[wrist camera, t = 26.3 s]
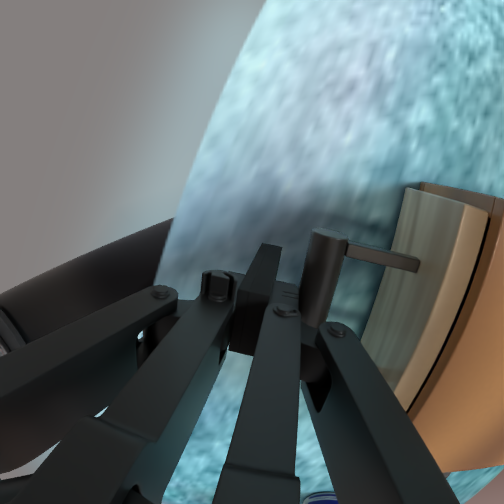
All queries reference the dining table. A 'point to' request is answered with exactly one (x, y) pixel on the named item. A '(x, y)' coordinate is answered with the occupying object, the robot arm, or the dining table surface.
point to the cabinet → (470, 360)
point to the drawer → (403, 284)
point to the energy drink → (321, 498)
